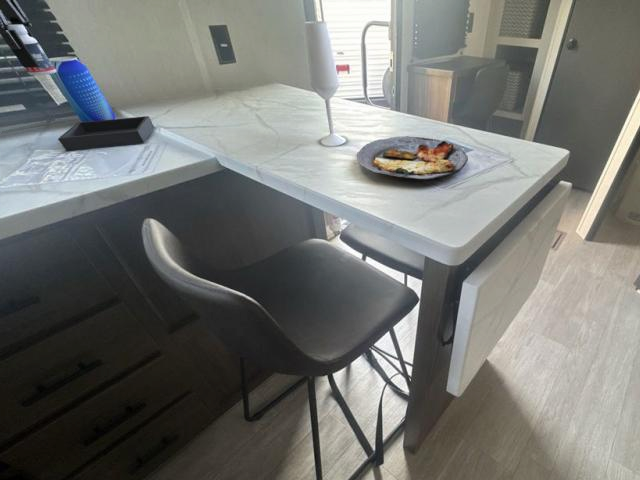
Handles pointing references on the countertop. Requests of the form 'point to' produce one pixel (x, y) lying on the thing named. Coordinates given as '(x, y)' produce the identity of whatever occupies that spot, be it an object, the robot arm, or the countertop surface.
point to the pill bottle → (34, 52)
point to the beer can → (80, 89)
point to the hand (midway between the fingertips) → (37, 64)
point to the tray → (107, 133)
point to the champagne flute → (323, 71)
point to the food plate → (412, 157)
